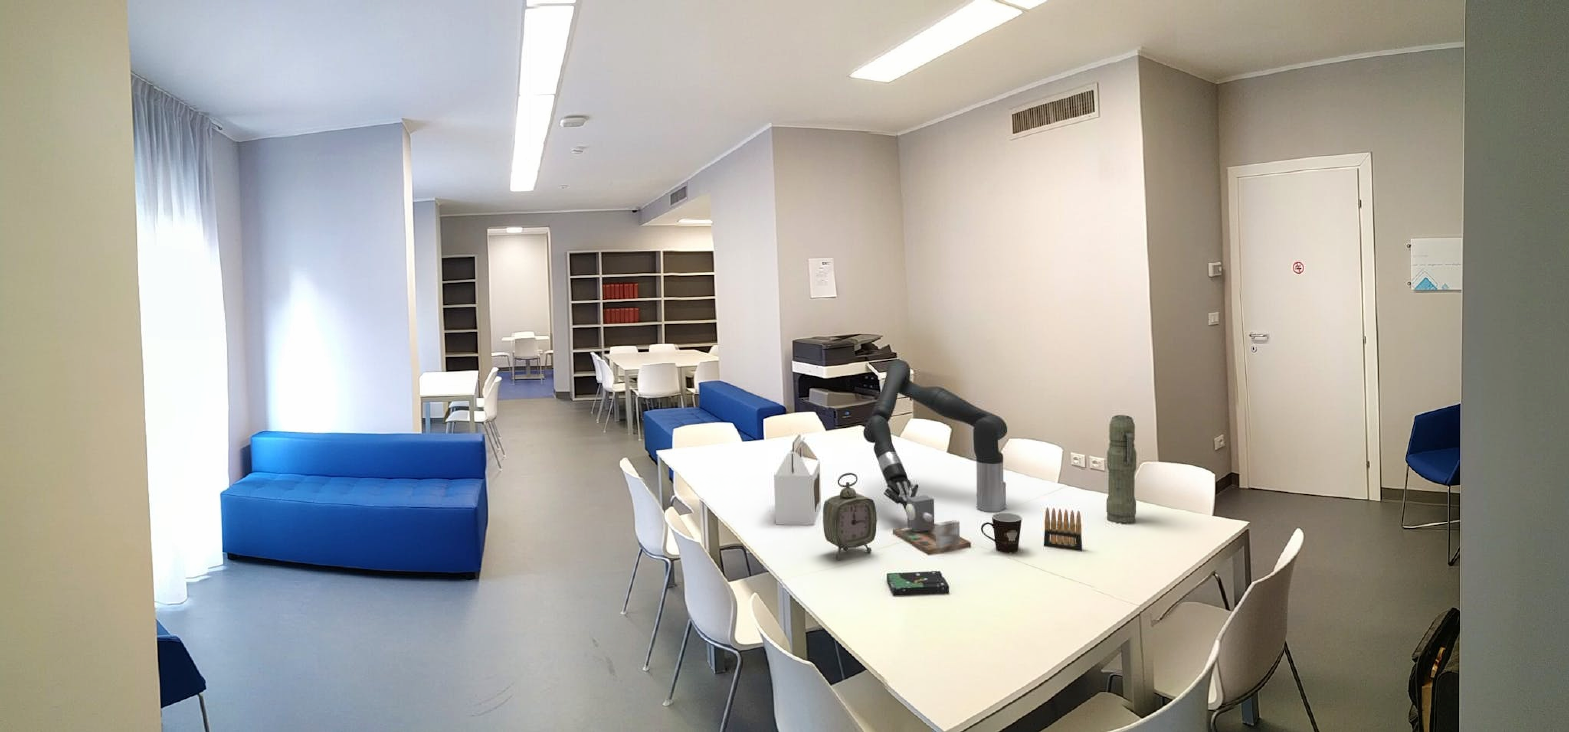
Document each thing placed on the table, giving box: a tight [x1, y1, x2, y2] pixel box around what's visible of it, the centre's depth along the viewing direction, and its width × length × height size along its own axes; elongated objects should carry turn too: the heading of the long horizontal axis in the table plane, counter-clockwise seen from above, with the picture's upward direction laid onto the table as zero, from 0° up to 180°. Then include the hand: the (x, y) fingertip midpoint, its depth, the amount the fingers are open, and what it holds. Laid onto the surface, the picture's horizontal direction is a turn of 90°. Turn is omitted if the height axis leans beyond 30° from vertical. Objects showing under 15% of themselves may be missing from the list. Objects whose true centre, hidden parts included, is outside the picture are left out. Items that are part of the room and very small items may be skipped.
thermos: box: [1105, 414, 1138, 525], centre depth 239 cm, size 9×12×35 cm
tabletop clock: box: [822, 472, 878, 561], centre depth 217 cm, size 14×9×25 cm, turn 117°
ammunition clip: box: [1043, 507, 1083, 552], centre depth 217 cm, size 11×2×12 cm, turn 61°
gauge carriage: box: [901, 494, 935, 532], centre depth 231 cm, size 10×8×10 cm
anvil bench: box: [892, 519, 972, 556], centre depth 228 cm, size 15×22×8 cm
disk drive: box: [886, 570, 950, 597], centre depth 192 cm, size 10×3×15 cm
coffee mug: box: [980, 512, 1023, 554], centre depth 218 cm, size 12×9×10 cm
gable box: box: [773, 434, 822, 526], centre depth 257 cm, size 22×13×28 cm, turn 170°
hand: (910, 512), depth 238 cm, fingers closed
